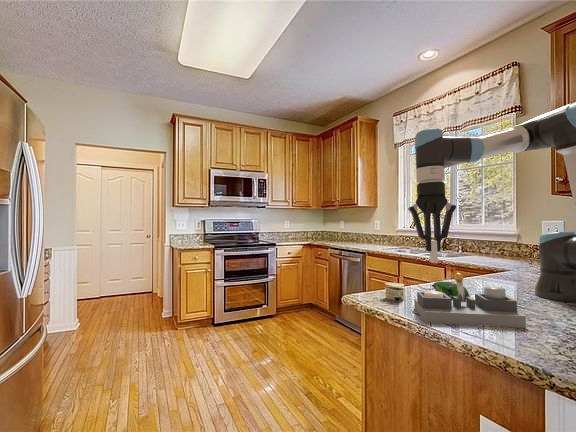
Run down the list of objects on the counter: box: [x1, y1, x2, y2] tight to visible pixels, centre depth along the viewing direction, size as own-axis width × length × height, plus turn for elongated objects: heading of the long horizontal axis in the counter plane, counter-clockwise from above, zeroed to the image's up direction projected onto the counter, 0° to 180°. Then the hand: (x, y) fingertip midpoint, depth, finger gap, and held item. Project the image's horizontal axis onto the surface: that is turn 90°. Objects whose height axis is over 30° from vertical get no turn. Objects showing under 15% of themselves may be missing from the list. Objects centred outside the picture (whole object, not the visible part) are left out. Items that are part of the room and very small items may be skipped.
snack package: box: [431, 281, 471, 300], centre depth 109 cm, size 7×16×5 cm, turn 178°
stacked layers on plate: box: [383, 281, 406, 301], centre depth 107 cm, size 10×9×6 cm
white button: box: [423, 290, 443, 298], centre depth 87 cm, size 5×5×3 cm
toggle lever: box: [453, 272, 466, 302], centre depth 88 cm, size 3×3×8 cm
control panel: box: [413, 291, 527, 329], centre depth 86 cm, size 24×14×6 cm, turn 78°
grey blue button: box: [483, 285, 507, 300], centre depth 84 cm, size 5×5×3 cm
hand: (433, 262), depth 88 cm, fingers closed
